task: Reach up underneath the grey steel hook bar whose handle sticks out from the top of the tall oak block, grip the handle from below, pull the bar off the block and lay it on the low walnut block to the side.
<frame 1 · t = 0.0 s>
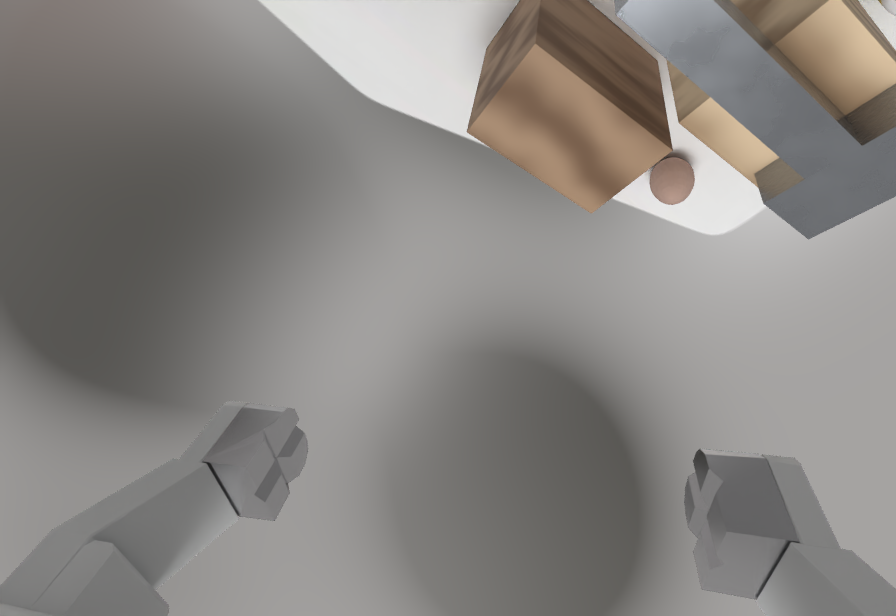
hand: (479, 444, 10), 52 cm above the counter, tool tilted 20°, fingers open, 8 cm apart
egg: (669, 163, 62), on the counter
hook bar: (689, 11, 25), point 26 cm above the counter, touching oak shelf block
walnut block: (570, 54, 53), on the counter
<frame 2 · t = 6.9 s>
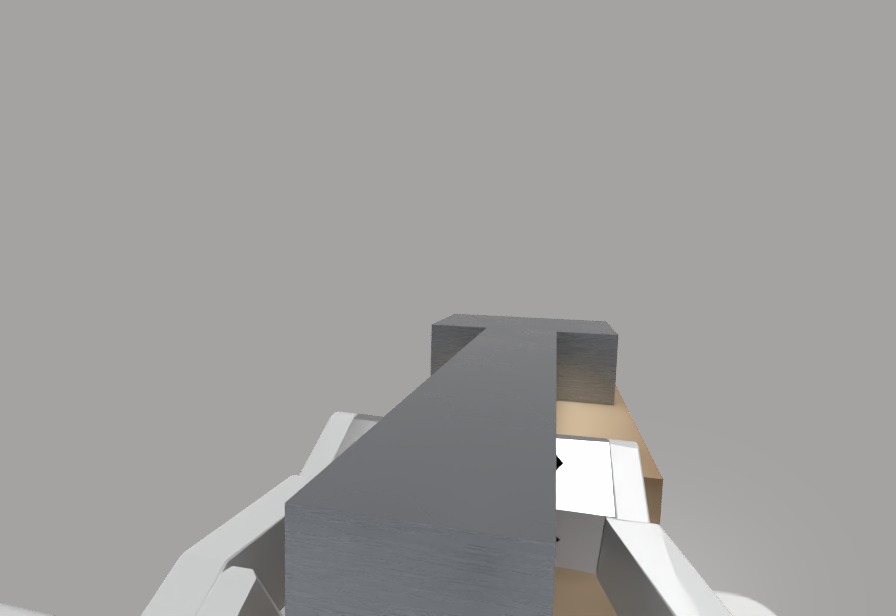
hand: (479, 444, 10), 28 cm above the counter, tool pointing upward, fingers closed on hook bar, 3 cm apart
hook bar: (469, 562, 9), point 26 cm above the counter, touching gripper, oak shelf block
when the fingers open (23 cm above the counter, at t = 13.1 s): hook bar drops 8 cm, resting on arm, walnut block.
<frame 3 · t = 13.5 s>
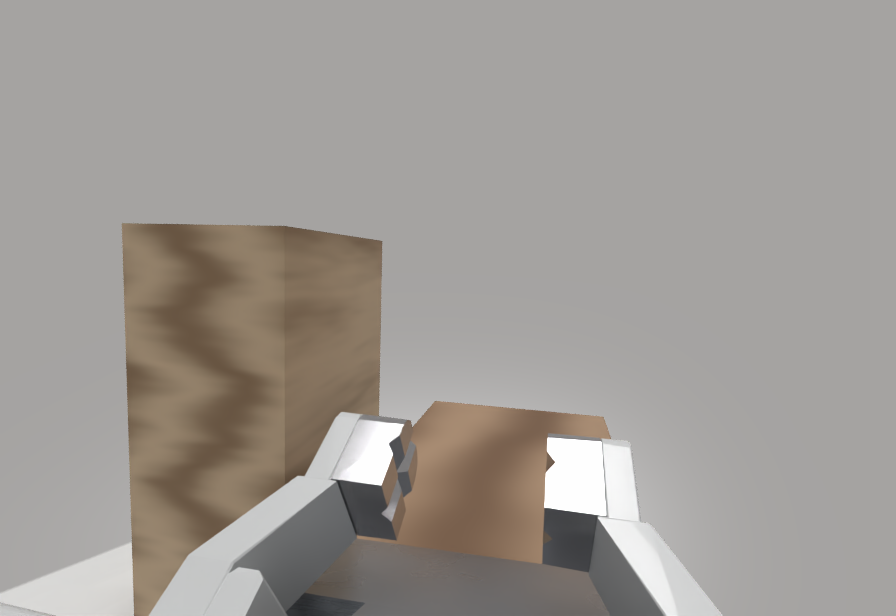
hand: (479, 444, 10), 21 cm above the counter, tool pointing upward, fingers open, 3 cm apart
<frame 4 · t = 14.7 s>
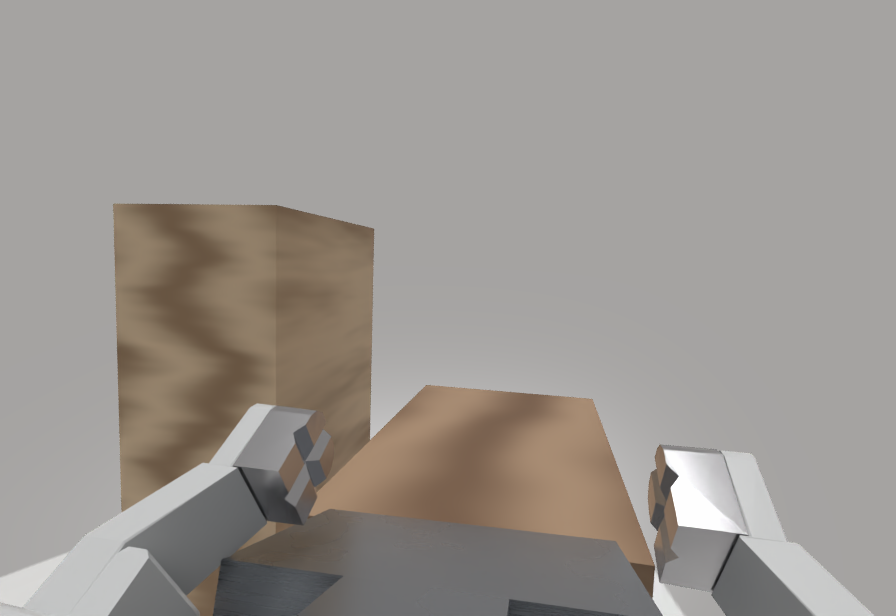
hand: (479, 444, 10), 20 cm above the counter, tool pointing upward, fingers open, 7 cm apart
oak shelf block: (267, 614, 32), on the counter
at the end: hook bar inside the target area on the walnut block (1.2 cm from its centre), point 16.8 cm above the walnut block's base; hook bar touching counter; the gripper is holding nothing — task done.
